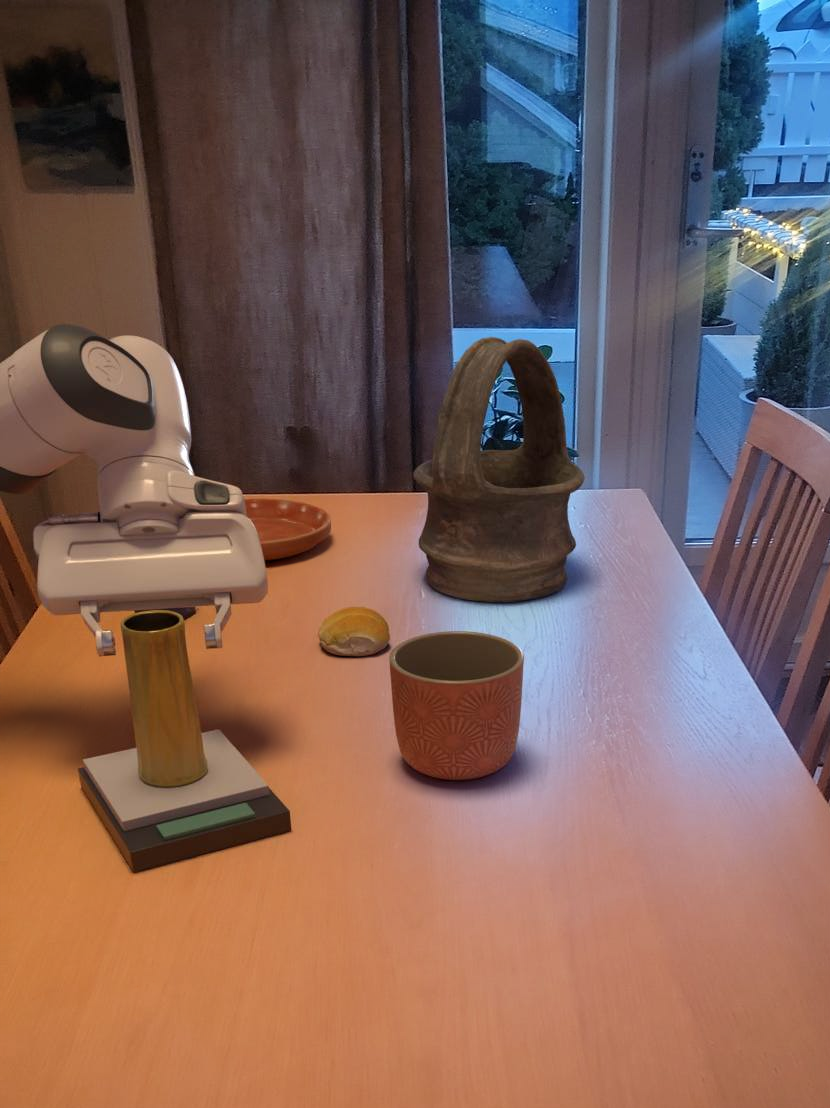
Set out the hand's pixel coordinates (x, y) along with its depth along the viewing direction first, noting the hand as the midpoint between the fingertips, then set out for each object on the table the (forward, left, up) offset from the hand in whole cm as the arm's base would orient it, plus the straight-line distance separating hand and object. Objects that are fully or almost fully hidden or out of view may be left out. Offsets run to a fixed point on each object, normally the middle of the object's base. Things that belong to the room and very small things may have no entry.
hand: (160, 650), depth 110 cm
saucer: (+31, +63, -12) cm, 71 cm away
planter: (+24, -11, -12) cm, 29 cm away
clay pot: (+54, +33, -12) cm, 65 cm away
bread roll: (+28, +21, -12) cm, 37 cm away
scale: (-2, -7, -12) cm, 14 cm away
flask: (+11, +39, -12) cm, 42 cm away
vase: (-2, -6, -9) cm, 11 cm away
